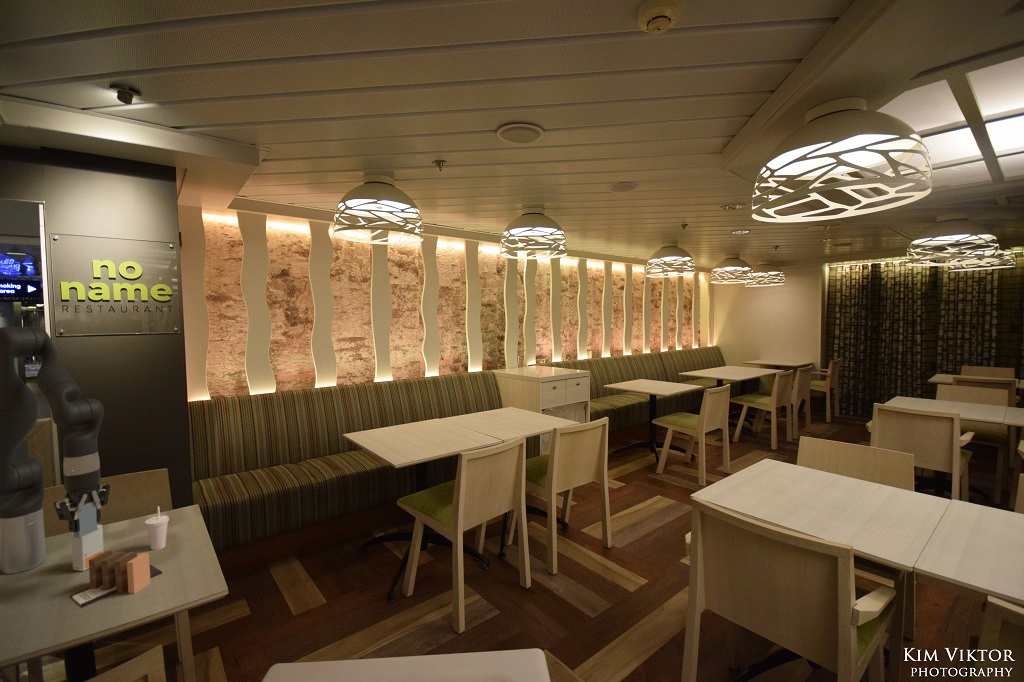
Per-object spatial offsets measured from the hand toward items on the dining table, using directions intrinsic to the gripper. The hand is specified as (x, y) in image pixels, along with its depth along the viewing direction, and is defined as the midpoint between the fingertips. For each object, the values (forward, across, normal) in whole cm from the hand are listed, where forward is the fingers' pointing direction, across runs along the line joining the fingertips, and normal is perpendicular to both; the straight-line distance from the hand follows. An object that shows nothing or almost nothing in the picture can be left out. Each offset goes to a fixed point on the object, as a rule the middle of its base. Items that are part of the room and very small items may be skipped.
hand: (85, 526), depth 128 cm
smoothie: (+17, -21, +2) cm, 27 cm away
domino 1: (+2, 0, 0) cm, 2 cm away
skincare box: (+17, -9, -10) cm, 22 cm away
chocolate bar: (+18, -1, +9) cm, 20 cm away
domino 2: (+17, 0, +5) cm, 18 cm away
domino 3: (+17, 0, +9) cm, 19 cm away
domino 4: (+17, 0, +13) cm, 21 cm away
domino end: (+17, 0, +17) cm, 24 cm away
